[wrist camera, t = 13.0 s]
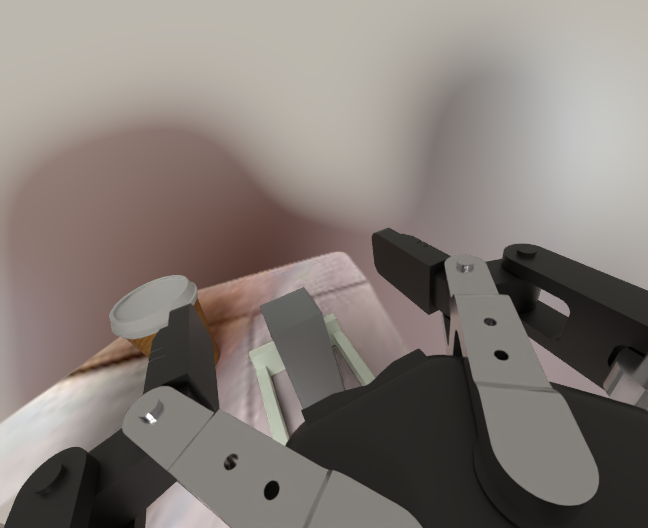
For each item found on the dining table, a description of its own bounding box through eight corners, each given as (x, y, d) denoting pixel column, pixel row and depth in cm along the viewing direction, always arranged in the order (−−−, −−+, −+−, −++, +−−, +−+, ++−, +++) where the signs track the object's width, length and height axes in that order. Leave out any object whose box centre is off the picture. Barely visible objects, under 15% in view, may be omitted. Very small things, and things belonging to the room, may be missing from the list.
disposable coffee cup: (210, 329, 44) (172, 266, 38) (244, 354, 38) (206, 283, 32) (150, 374, 38) (95, 309, 32) (178, 411, 32) (117, 340, 26)
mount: (393, 411, 27) (389, 386, 25) (286, 475, 24) (271, 453, 22) (339, 334, 37) (333, 312, 35) (259, 373, 34) (247, 352, 32)
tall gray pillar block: (346, 397, 29) (321, 312, 23) (307, 419, 28) (271, 336, 22) (328, 366, 33) (303, 286, 27) (293, 384, 32) (259, 305, 26)
